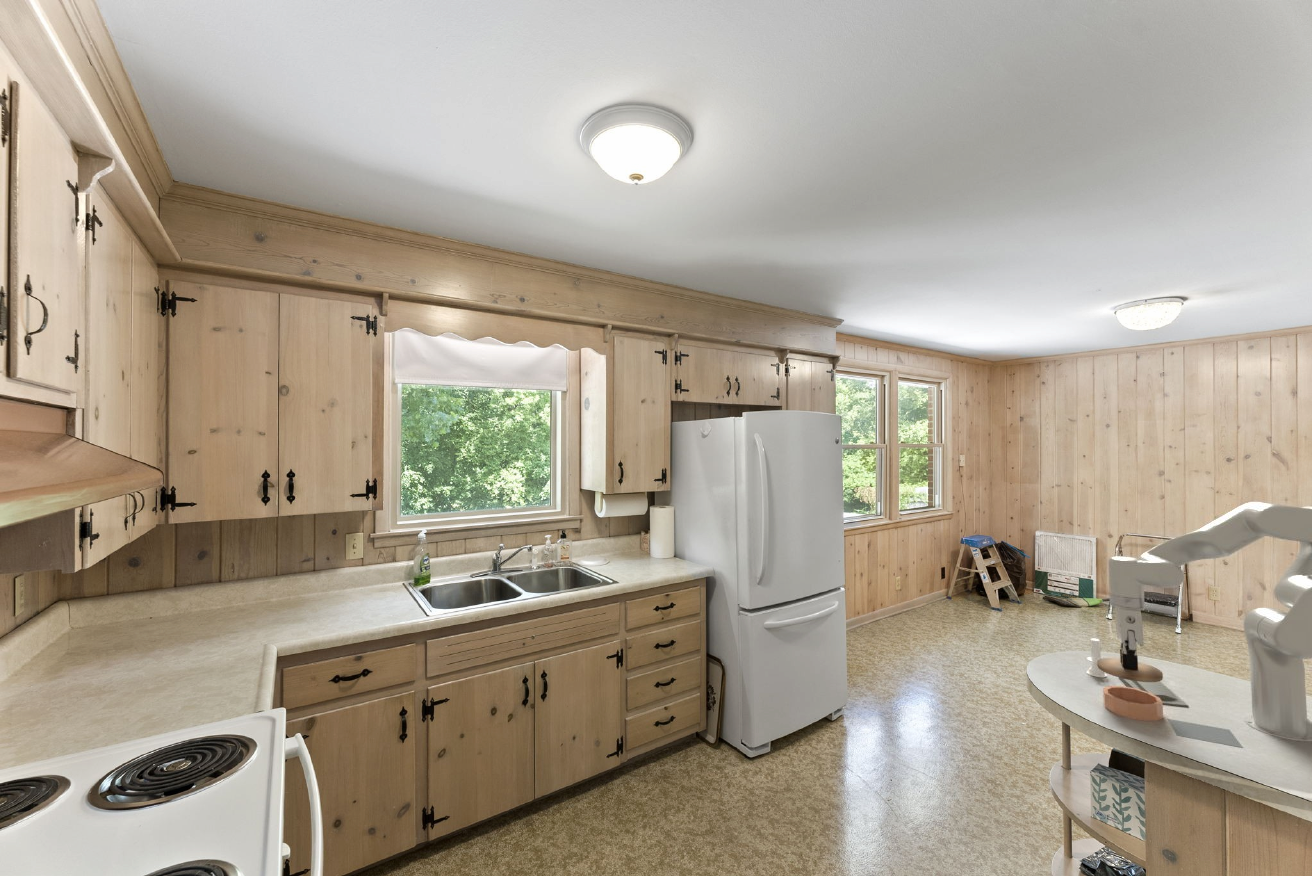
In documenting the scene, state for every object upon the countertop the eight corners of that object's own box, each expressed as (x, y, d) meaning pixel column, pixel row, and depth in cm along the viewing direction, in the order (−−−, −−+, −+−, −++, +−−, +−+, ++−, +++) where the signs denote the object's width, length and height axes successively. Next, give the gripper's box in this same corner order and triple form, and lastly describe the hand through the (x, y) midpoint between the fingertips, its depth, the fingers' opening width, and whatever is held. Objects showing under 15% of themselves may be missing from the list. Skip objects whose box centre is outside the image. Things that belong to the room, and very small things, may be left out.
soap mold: (1158, 684, 174) (1158, 673, 174) (1191, 713, 155) (1190, 700, 155) (1118, 680, 178) (1117, 669, 178) (1145, 707, 159) (1144, 695, 159)
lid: (1156, 667, 157) (1155, 646, 157) (1168, 686, 146) (1167, 662, 146) (1094, 658, 165) (1093, 637, 165) (1100, 675, 153) (1100, 652, 153)
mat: (1229, 733, 143) (1229, 729, 143) (1243, 751, 134) (1243, 747, 135) (1167, 722, 149) (1167, 718, 149) (1177, 739, 141) (1176, 735, 141)
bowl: (1157, 709, 157) (1156, 691, 157) (1167, 728, 146) (1166, 709, 146) (1101, 699, 163) (1100, 682, 164) (1107, 717, 153) (1106, 699, 153)
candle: (1086, 669, 185) (1085, 633, 185) (1107, 673, 181) (1105, 636, 182) (1086, 675, 181) (1084, 638, 181) (1107, 679, 177) (1105, 641, 178)
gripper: (1150, 610, 147) (1153, 680, 146) (1138, 596, 160) (1140, 659, 160) (1114, 606, 151) (1116, 674, 150) (1105, 592, 165) (1107, 654, 164)
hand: (1129, 665), depth 155 cm, fingers closed on lid, 3 cm apart
